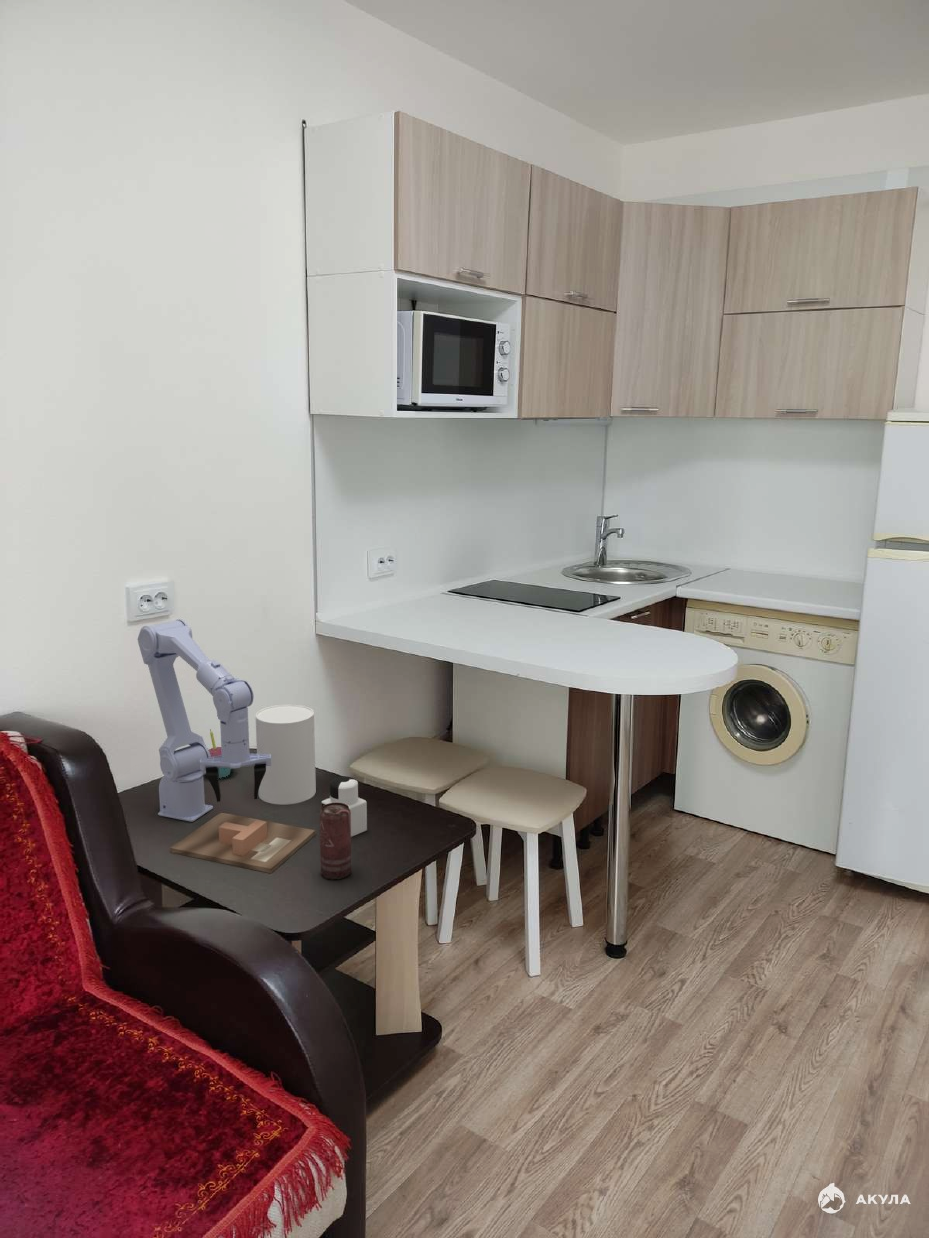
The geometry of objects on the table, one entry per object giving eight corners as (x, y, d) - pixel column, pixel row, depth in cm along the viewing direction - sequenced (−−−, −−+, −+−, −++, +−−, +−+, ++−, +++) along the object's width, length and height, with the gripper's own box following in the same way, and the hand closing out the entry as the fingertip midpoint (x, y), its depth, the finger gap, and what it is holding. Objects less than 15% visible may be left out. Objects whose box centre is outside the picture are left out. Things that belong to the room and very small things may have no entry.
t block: (210, 849, 187) (209, 833, 186) (234, 830, 195) (234, 815, 195) (243, 855, 185) (242, 840, 184) (267, 836, 193) (266, 821, 192)
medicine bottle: (321, 830, 198) (320, 779, 196) (346, 820, 203) (345, 770, 201) (342, 841, 194) (341, 789, 191) (367, 830, 199) (367, 779, 196)
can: (347, 882, 177) (346, 816, 174) (316, 878, 178) (314, 812, 175) (356, 867, 183) (356, 802, 180) (327, 863, 184) (325, 799, 181)
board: (170, 852, 188) (170, 847, 188) (221, 816, 204) (221, 812, 204) (271, 873, 180) (270, 868, 180) (315, 834, 196) (315, 830, 196)
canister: (246, 795, 215) (243, 716, 211) (285, 776, 227) (283, 700, 222) (289, 809, 209) (286, 727, 204) (327, 789, 220) (325, 711, 215)
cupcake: (196, 780, 224) (194, 734, 221) (211, 767, 232) (209, 722, 229) (229, 782, 222) (227, 736, 220) (243, 769, 231) (241, 725, 228)
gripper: (197, 747, 184) (201, 808, 187) (270, 743, 187) (272, 803, 191) (199, 735, 191) (202, 794, 194) (270, 731, 194) (271, 789, 197)
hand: (237, 798), depth 193 cm, fingers open, 7 cm apart
